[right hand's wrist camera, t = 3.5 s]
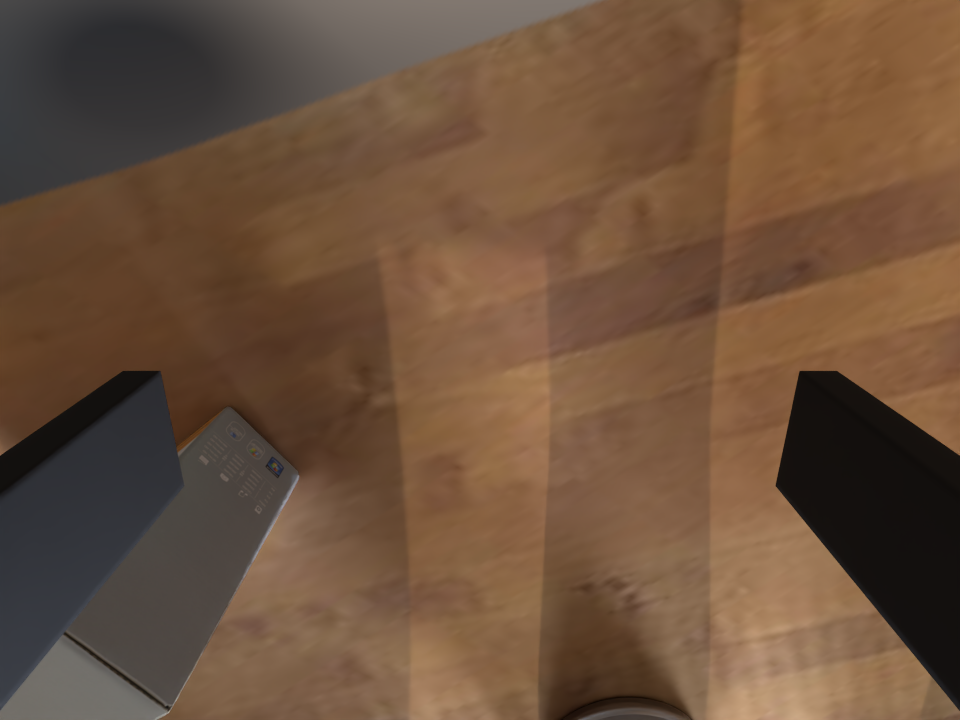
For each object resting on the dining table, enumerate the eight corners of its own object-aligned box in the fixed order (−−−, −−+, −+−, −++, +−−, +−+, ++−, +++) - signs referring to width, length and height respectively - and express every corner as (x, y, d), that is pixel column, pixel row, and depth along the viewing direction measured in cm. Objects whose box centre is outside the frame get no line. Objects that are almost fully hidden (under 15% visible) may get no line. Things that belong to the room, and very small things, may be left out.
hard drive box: (229, 399, 43) (38, 609, 24) (304, 472, 45) (182, 714, 27) (90, 512, 47) (-169, 770, 28) (166, 575, 49) (-27, 852, 30)
